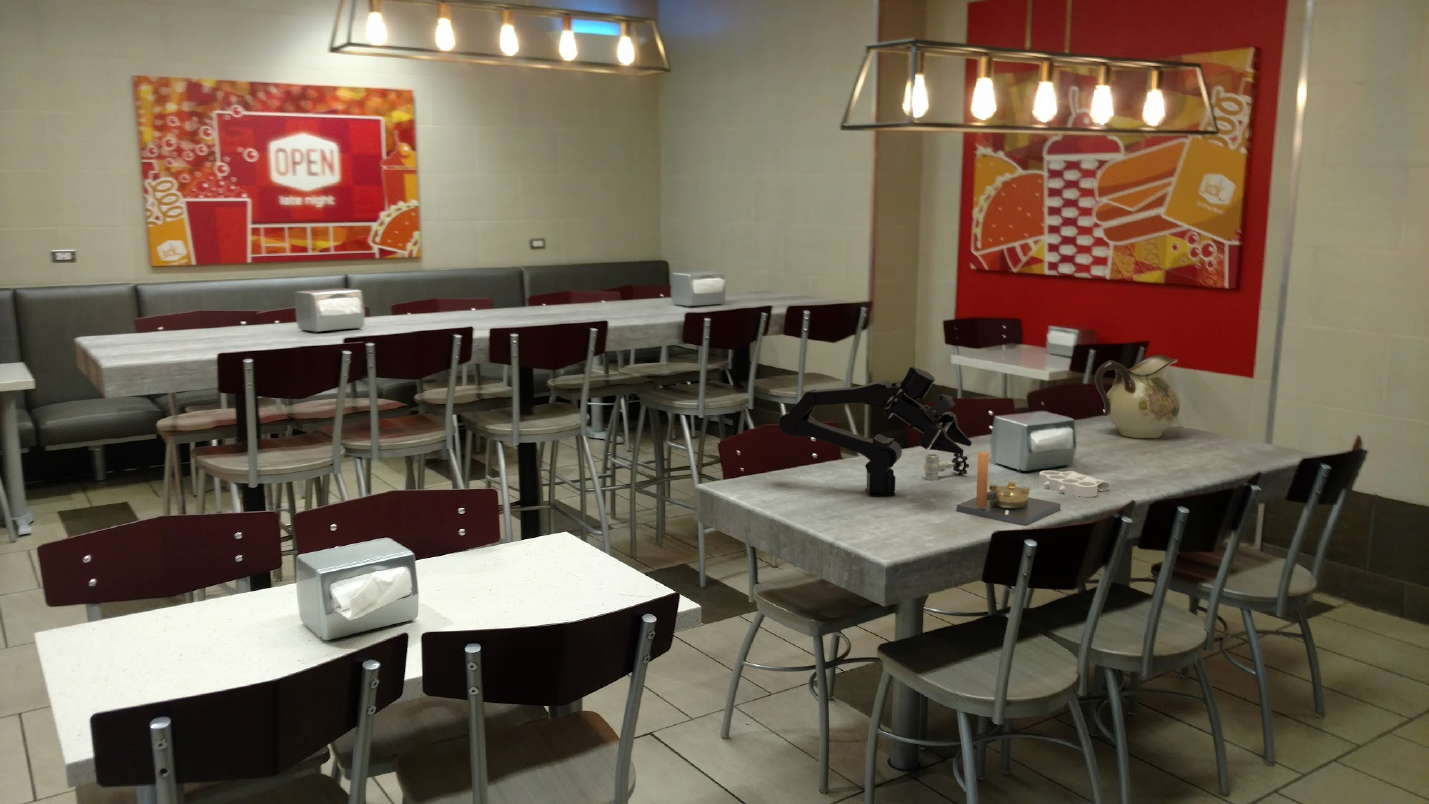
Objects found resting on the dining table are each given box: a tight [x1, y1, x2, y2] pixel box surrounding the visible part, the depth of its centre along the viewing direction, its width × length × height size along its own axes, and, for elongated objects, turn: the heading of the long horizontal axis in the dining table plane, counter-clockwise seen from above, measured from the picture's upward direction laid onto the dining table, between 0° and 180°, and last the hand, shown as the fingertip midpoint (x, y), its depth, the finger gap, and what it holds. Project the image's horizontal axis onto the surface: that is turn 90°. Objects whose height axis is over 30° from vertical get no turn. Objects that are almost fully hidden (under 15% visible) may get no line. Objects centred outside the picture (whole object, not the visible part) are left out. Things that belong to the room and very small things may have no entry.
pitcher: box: [1094, 354, 1181, 439], centre depth 345 cm, size 22×24×25 cm
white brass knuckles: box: [1038, 470, 1111, 498], centre depth 284 cm, size 3×18×15 cm
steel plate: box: [956, 496, 1061, 527], centre depth 264 cm, size 18×18×2 cm
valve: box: [923, 452, 970, 481], centre depth 295 cm, size 7×7×12 cm
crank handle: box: [975, 451, 1030, 508], centre depth 261 cm, size 14×9×13 cm, turn 112°
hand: (967, 448), depth 268 cm, fingers open, 9 cm apart
